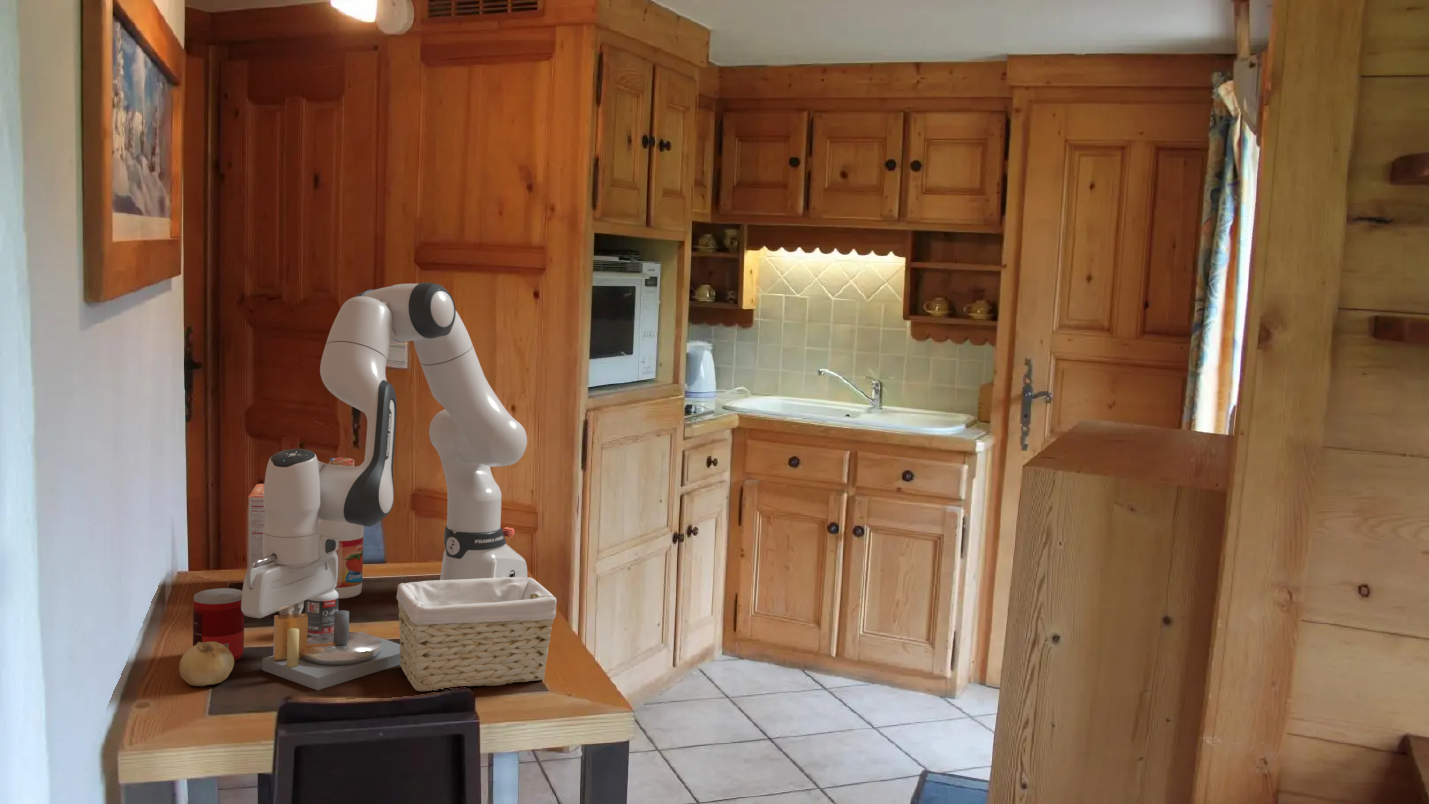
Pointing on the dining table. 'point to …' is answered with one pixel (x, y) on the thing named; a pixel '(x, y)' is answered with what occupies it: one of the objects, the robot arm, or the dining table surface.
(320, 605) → the pill bottle
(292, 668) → the post board
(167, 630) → the dining table surface
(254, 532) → the cracker box
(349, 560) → the fruit juice
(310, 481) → the robot arm
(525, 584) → the storage basket
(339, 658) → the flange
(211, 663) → the onion
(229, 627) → the canned food
